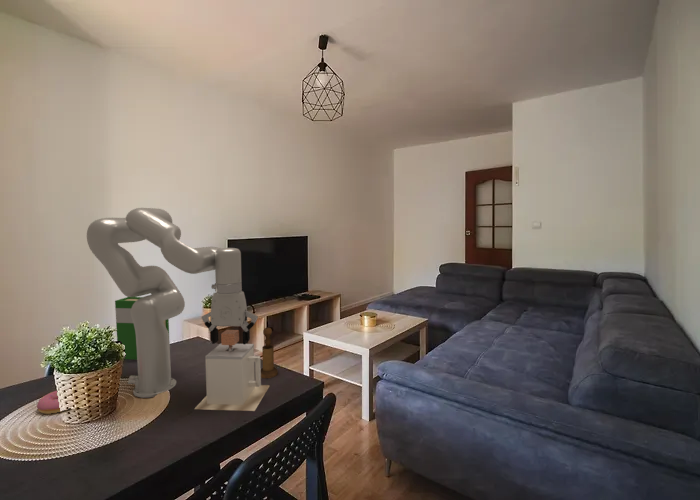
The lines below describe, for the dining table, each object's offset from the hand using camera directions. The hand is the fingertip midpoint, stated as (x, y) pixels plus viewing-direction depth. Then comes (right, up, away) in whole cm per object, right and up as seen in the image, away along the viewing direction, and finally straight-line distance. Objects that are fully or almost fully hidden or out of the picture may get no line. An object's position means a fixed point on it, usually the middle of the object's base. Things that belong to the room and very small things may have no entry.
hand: (230, 342), depth 110 cm
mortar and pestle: (+8, -17, +17) cm, 25 cm away
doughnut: (-50, -19, -3) cm, 54 cm away
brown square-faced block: (0, -15, +1) cm, 15 cm away
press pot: (+2, -17, +1) cm, 17 cm away
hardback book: (-48, -16, +37) cm, 63 cm away
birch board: (+1, -18, +1) cm, 18 cm away
